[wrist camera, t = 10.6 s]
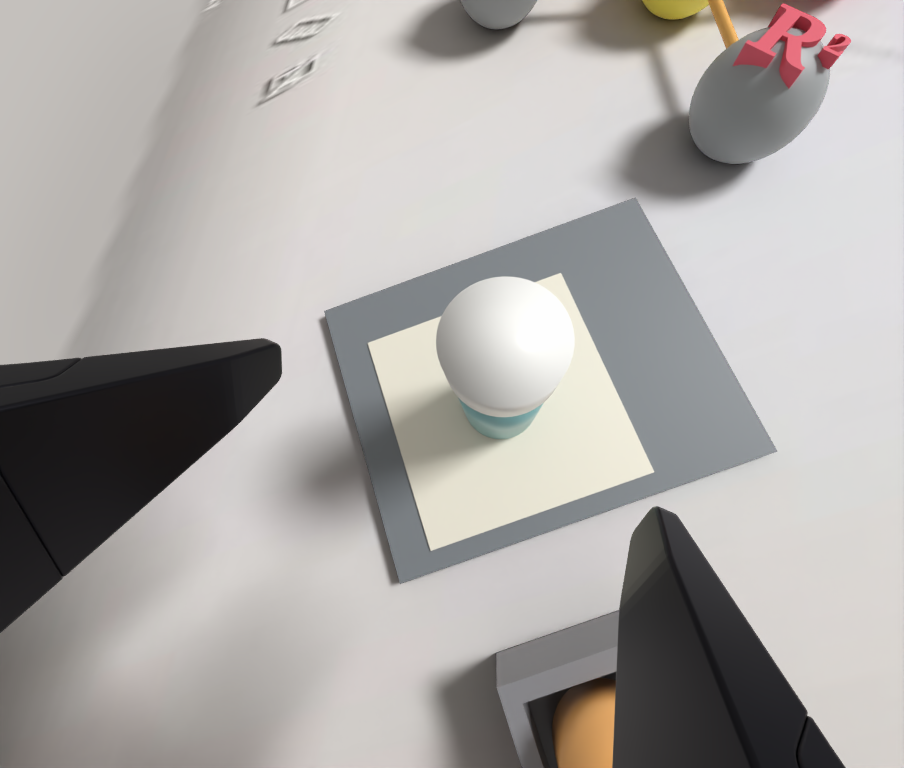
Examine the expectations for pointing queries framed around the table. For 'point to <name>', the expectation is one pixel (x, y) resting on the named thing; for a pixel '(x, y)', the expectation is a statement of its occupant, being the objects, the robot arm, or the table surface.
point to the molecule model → (735, 75)
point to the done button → (585, 725)
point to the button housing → (551, 681)
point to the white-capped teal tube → (504, 352)
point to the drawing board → (562, 415)
